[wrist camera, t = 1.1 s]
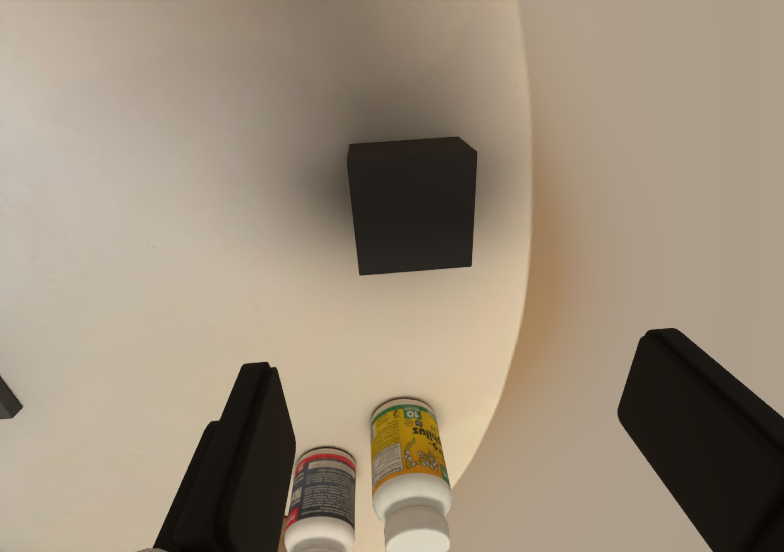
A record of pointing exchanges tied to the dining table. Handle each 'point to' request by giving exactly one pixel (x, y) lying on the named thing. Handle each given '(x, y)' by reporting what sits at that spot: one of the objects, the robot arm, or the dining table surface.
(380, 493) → the supplement bottle
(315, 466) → the pill bottle
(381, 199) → the pad
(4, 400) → the base mat
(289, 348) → the dining table surface
